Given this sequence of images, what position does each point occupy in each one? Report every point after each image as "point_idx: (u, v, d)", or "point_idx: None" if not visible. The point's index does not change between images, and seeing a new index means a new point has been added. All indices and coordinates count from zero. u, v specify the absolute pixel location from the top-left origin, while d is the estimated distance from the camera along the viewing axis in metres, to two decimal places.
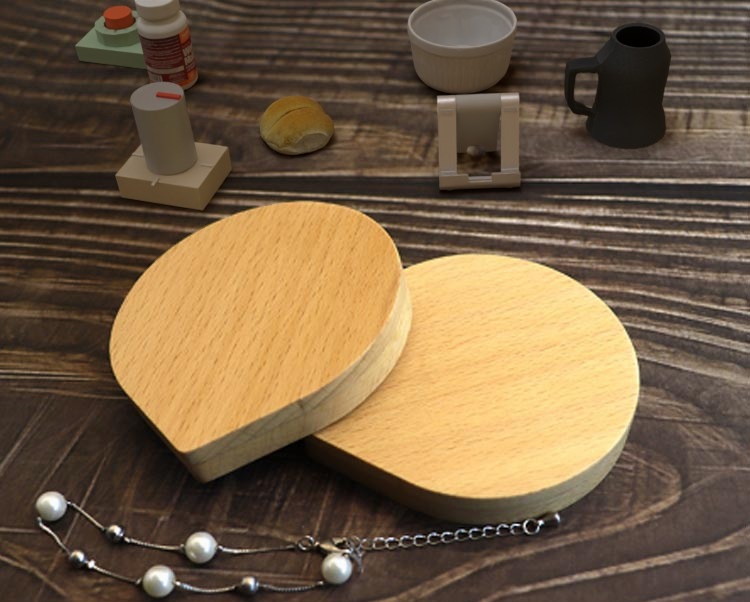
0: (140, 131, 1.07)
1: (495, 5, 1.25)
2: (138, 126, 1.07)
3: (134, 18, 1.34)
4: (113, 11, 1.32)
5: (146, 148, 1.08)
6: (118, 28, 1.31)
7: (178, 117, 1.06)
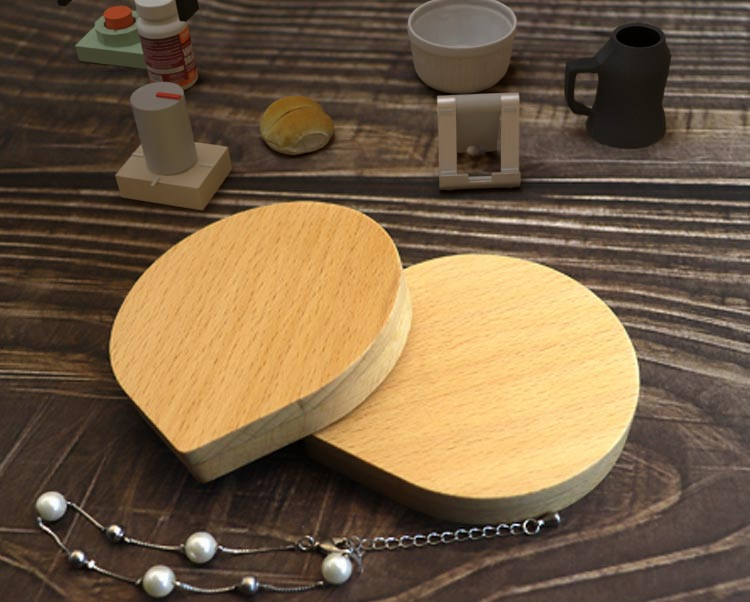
0: (140, 131, 1.07)
1: (495, 5, 1.25)
2: (138, 126, 1.07)
3: (134, 18, 1.34)
4: (113, 11, 1.32)
5: (146, 148, 1.08)
6: (118, 28, 1.31)
7: (178, 117, 1.06)
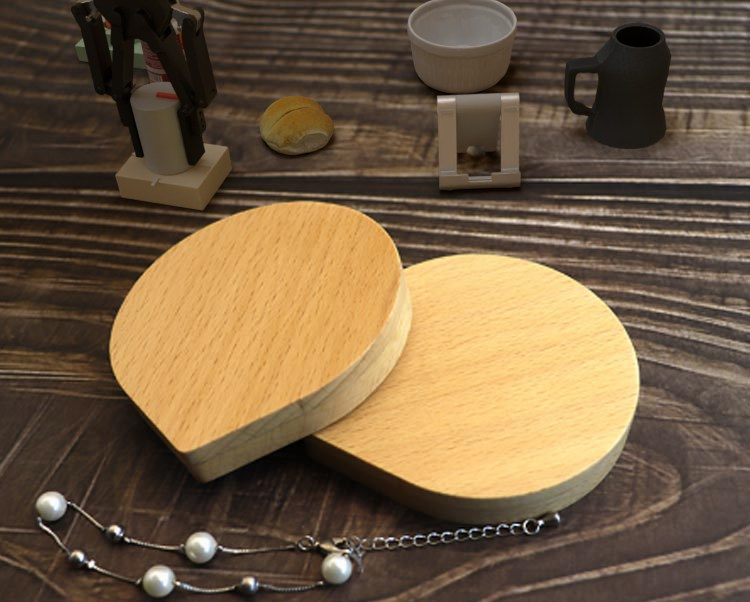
0: (140, 131, 1.07)
1: (495, 5, 1.25)
2: (138, 126, 1.07)
3: None
4: None
5: (146, 148, 1.08)
6: None
7: None
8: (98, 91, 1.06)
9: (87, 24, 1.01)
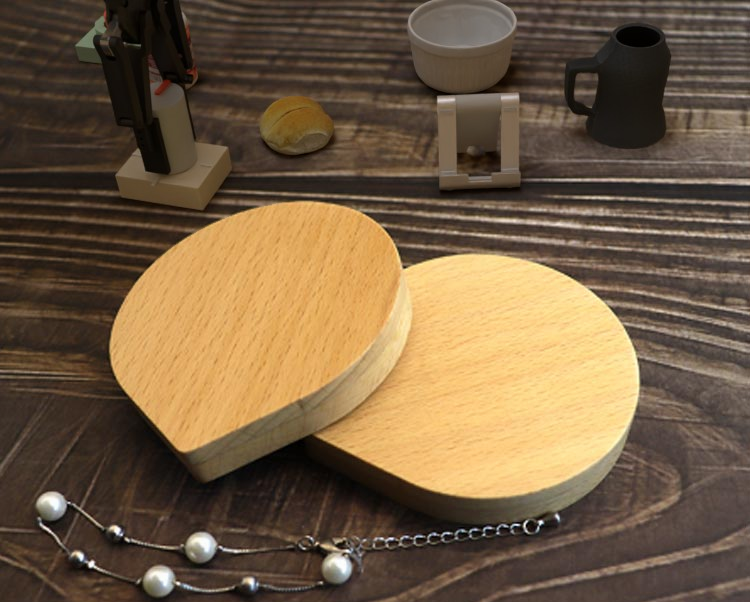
0: (177, 131, 1.06)
1: (495, 5, 1.25)
2: (174, 127, 1.06)
3: None
4: None
5: (183, 145, 1.08)
6: None
7: None
8: (140, 124, 1.01)
9: (126, 51, 0.96)
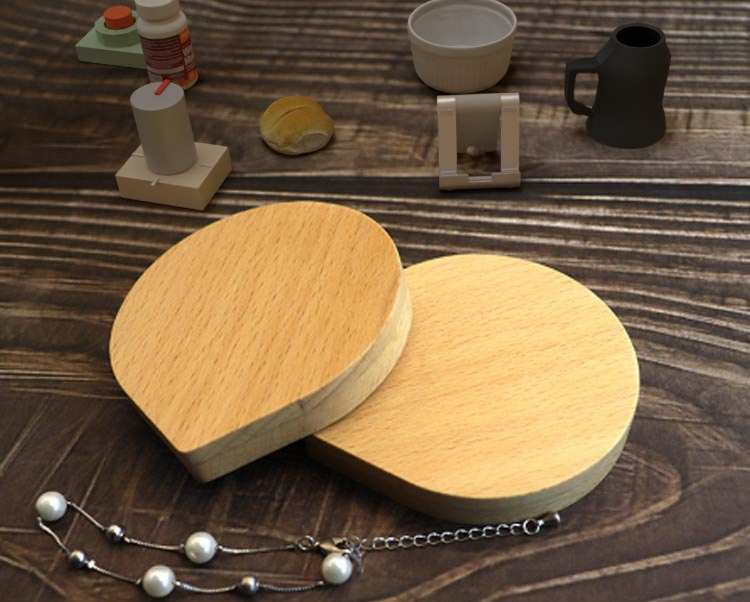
0: (177, 131, 1.06)
1: (495, 5, 1.25)
2: (174, 127, 1.06)
3: (134, 18, 1.34)
4: (113, 11, 1.32)
5: (183, 145, 1.08)
6: (118, 28, 1.31)
7: None
8: None
9: None
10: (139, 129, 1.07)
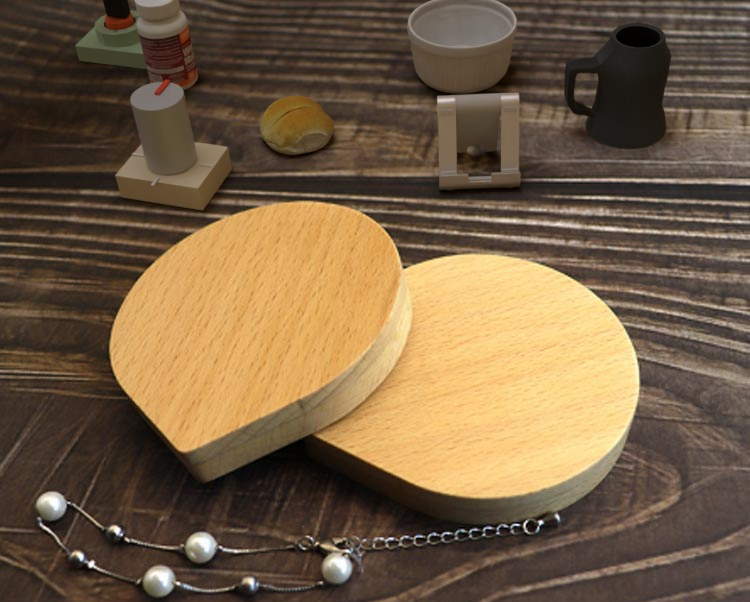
0: (177, 131, 1.06)
1: (495, 5, 1.25)
2: (174, 127, 1.06)
3: (134, 18, 1.34)
4: None
5: (183, 145, 1.08)
6: None
7: None
8: None
9: None
10: (139, 129, 1.07)
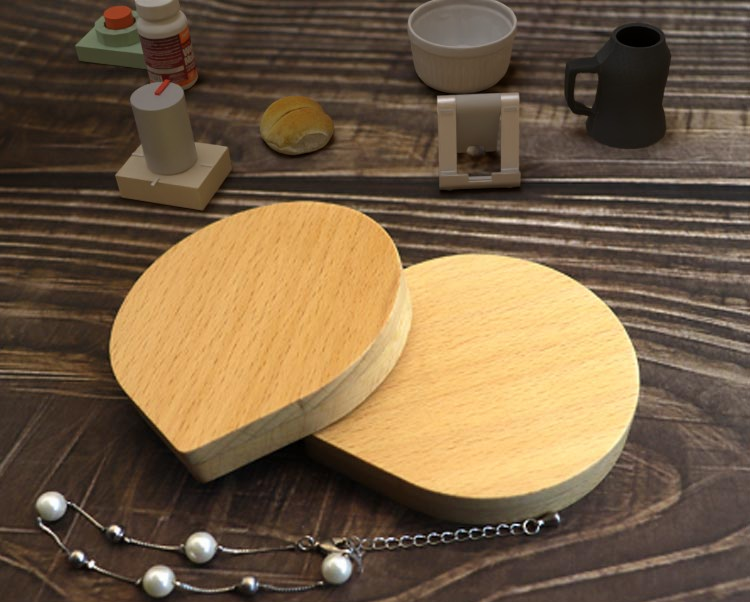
0: (177, 131, 1.06)
1: (495, 5, 1.25)
2: (174, 127, 1.06)
3: (134, 18, 1.34)
4: (113, 11, 1.32)
5: (183, 145, 1.08)
6: (118, 28, 1.31)
7: None
8: None
9: None
10: (139, 129, 1.07)
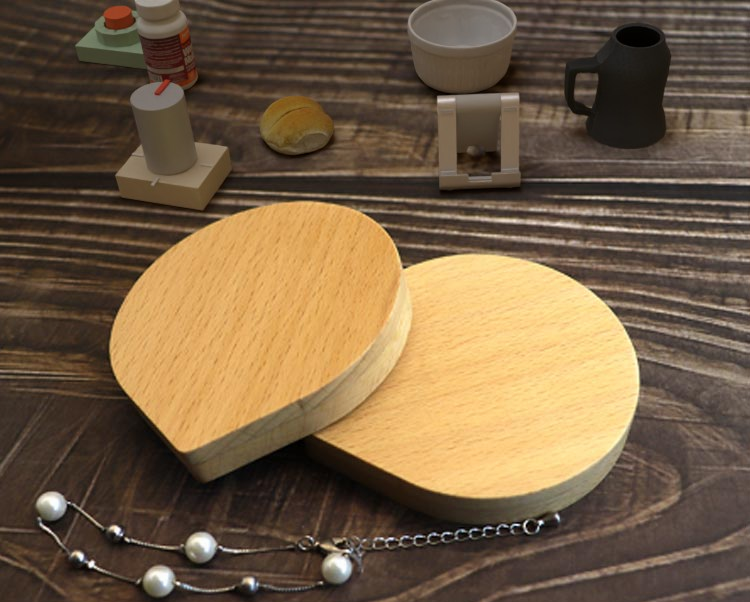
0: (177, 131, 1.06)
1: (495, 5, 1.25)
2: (174, 127, 1.06)
3: (134, 18, 1.34)
4: (113, 11, 1.32)
5: (183, 145, 1.08)
6: (118, 28, 1.31)
7: None
8: None
9: None
10: (139, 129, 1.07)
